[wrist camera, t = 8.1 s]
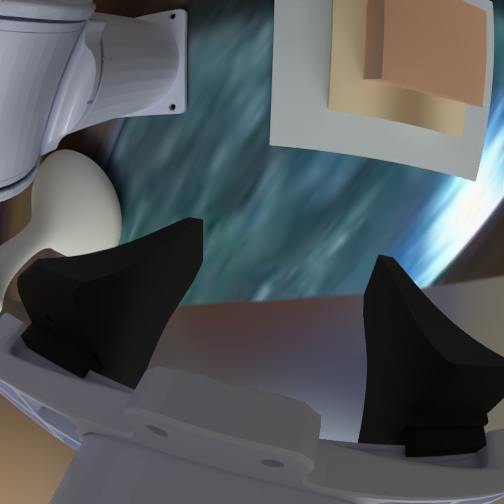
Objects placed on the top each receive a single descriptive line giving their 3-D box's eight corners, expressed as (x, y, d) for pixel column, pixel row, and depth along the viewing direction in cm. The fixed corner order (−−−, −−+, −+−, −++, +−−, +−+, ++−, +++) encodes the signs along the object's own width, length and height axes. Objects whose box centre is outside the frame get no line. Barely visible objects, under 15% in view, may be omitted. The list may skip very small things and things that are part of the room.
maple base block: (326, 106, 17) (328, 110, 15) (331, -9, 13) (333, -23, 10) (443, 129, 16) (461, 138, 13) (451, 19, 11) (470, 12, 9)
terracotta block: (363, 79, 13) (381, 78, 9) (366, 4, 11) (383, -24, 7) (440, 97, 12) (482, 107, 8) (444, 24, 10) (486, 11, 6)
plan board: (271, 142, 20) (269, 145, 19) (277, -43, 12) (275, -47, 12) (471, 177, 17) (475, 181, 17) (487, 3, 10) (492, 2, 9)
